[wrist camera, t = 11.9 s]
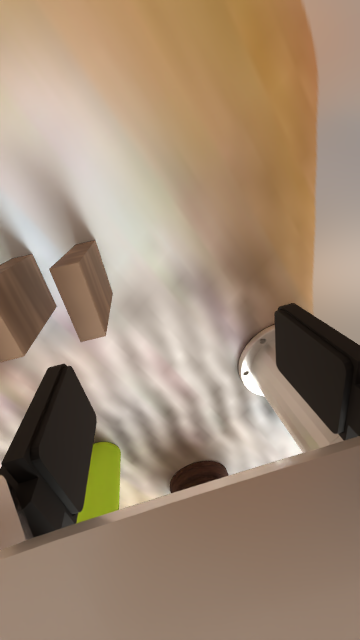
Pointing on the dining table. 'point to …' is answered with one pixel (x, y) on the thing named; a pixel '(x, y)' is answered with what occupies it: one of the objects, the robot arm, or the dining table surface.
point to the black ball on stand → (197, 475)
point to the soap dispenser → (102, 482)
